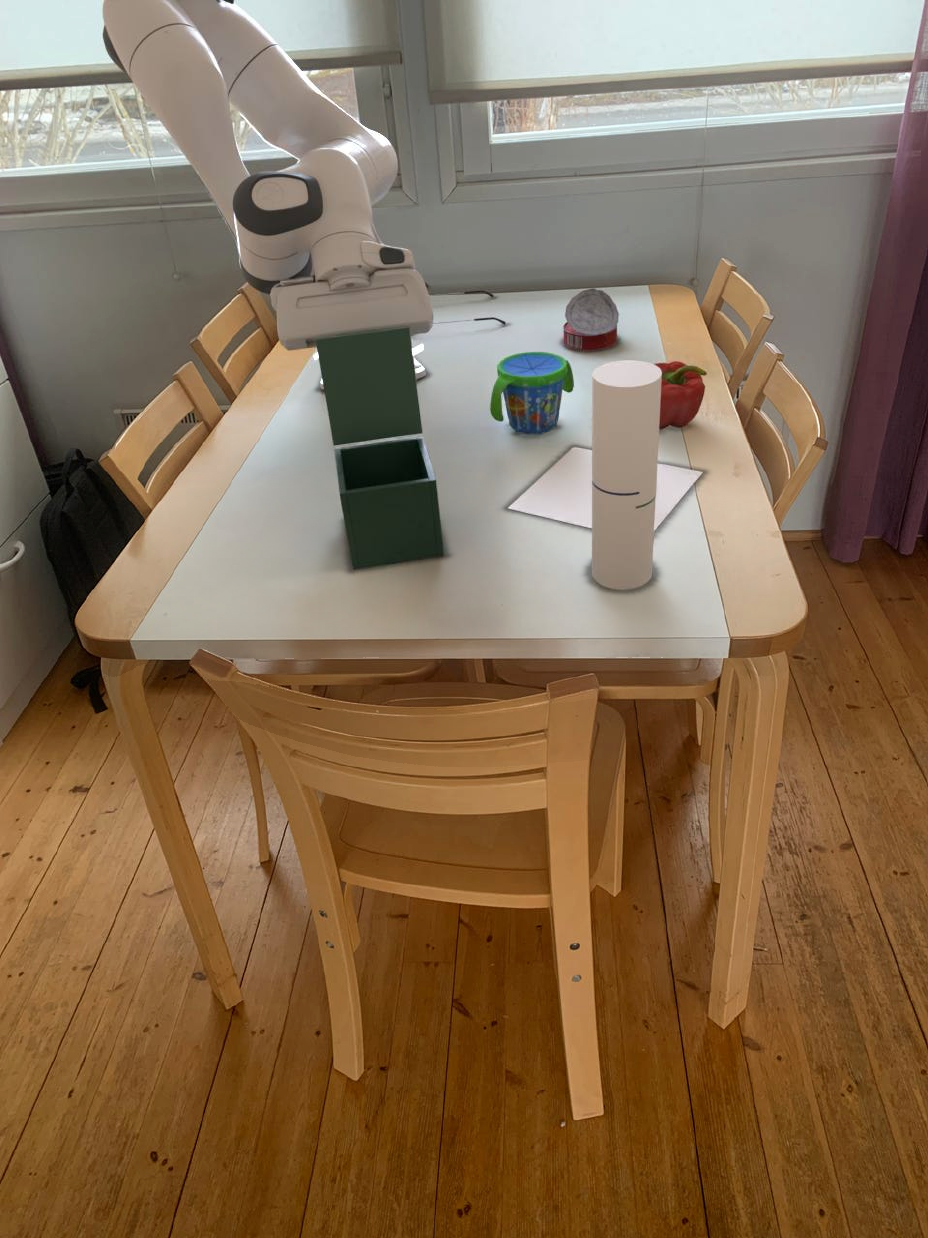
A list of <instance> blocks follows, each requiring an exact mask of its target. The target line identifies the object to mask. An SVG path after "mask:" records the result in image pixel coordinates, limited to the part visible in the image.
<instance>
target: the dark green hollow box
mask: <svg viewBox="0 0 928 1238" xmlns="http://www.w3.org/2000/svg"><path fill="white" fill-rule="evenodd" d="M333 449H334V450H333V451H334V459H335V467H336V476H337V485H338V492H339V499H340V506H341V510H342V515H343V520H344V528H345V534H346V539H347V544H348V550H349V556H350V561H351V562H350V563H351V566H352V570H353V571H354V570H359V569H360V570H361V569H367V568H372V567H379V566H380V567H381V566H385V565H394V564H398V563H406V562H411V561H420V560H424V559H431V558H437V557H444V556H445V551H444V543H443V542H444V541H443V534H442V533H443V532H442V524H441V514H440V504H439V495H438V486H437V485H438V484H437V478H436V475H435V472H434V469H433V466H432V462H431V459H430V456H429V452H428V449H427V446H426V442H425V439H424V436H423V435H420V436H414V437H406V438H400V439H399V438H398V439H393V440H386V441H378V442H372V443H364V444H357V445H356V444H355V445H350V446H349V445H348V446H343V447H334V448H333Z"/></svg>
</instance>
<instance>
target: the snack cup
mask: <svg viewBox="0 0 928 1238" xmlns="http://www.w3.org/2000/svg"><path fill="white" fill-rule="evenodd" d="M496 370H497V371H496V373H497V378H496V380H495V382H494V385H493V387H492V391H491V397H490V405H489V410H490V415H491V416H492V418H493V419H494V420H495V421H498V422H504V415H503V404H502V403H503V402H502V394H503V401H504V406H505V410H506V414H507V419H508V424H509V426H510V427H511V429H512V430H514V432H515V433H517V434H518V433H520V434H525V435H543V434H544V433H547V432H549V431H551V430H553V429H554V428H556V427H557V426H558V421H559V417H560V409H561V405H562V397H563V392H565V393H567V394H568V393H572V392H573V391H574V388H575V381H574V373H573V369H572V366H571V364H570V362H569V360H568V359H565V358H564V357H563V356H561V355H559V354H556V353H551V352H547V351H546V352H545V351H526V352H519V353H515V354H511V355H508V356H506V357H504V358H502V359H501V360H500V361H499V362H498V363H497V365H496Z"/></svg>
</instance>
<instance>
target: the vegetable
mask: <svg viewBox="0 0 928 1238" xmlns="http://www.w3.org/2000/svg"><path fill="white" fill-rule="evenodd" d="M652 364H653V365H656V366H657V367H659V368H660V369H661V371H662V380H661V400H660V421H659V431H660V430H661V431H662V430H664V429H667V428H669V427H670V426H671V427H675V428H682V427H684V426H686V425H688V424H689V423H690V422H692V421H693V419H695V417H696V416H697V415H698V414H699V411H700V408H701V405H702V403H703V401H704V396H705V392H706V391H705V390H706V385H705V383H704V380H703V377H702V376H704V377H705V376H707V375H708V371H706V370H704V369H703V368H701V367H699V366H697V365H688V364H686V363H684V362H682V361H679V360H677V361H670V362H656V363H655V362H654V363H652Z"/></svg>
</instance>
